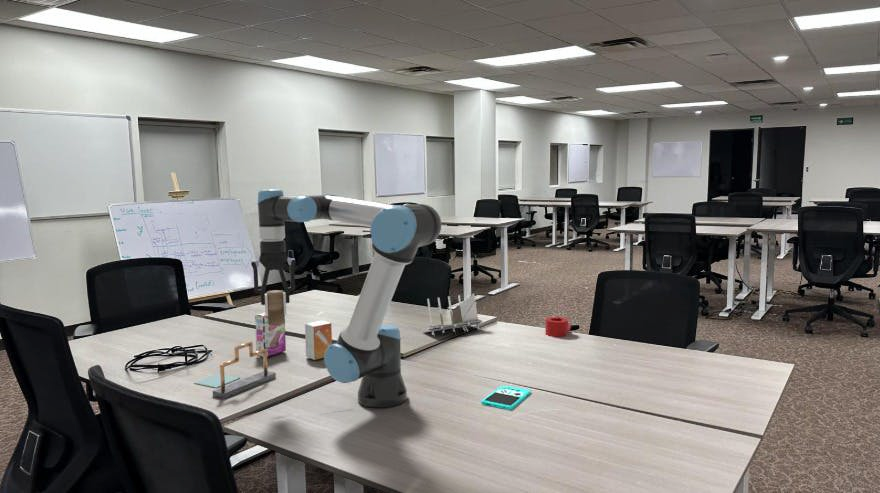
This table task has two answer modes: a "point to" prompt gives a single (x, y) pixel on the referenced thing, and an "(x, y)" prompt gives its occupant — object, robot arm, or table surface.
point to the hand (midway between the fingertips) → (275, 314)
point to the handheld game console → (506, 397)
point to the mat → (216, 381)
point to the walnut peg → (275, 307)
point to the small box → (317, 339)
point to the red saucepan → (557, 326)
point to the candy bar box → (269, 336)
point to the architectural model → (457, 315)
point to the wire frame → (247, 382)
